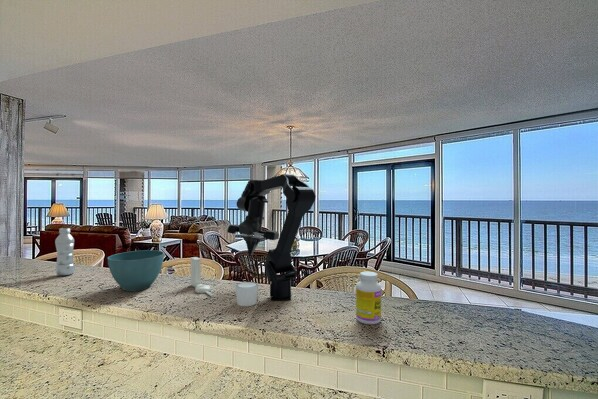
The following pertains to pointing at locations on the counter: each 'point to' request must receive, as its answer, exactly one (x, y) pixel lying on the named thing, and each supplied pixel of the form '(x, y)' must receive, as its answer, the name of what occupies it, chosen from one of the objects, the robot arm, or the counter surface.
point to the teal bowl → (136, 268)
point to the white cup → (247, 293)
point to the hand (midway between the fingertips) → (250, 255)
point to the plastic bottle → (64, 252)
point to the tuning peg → (198, 277)
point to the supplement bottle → (368, 299)
